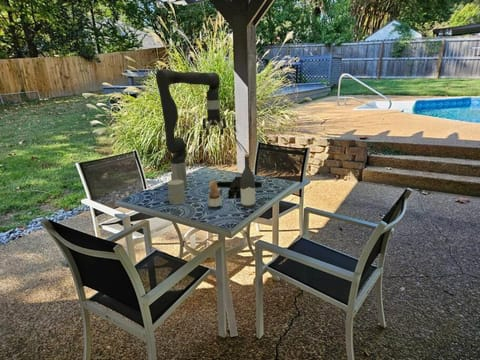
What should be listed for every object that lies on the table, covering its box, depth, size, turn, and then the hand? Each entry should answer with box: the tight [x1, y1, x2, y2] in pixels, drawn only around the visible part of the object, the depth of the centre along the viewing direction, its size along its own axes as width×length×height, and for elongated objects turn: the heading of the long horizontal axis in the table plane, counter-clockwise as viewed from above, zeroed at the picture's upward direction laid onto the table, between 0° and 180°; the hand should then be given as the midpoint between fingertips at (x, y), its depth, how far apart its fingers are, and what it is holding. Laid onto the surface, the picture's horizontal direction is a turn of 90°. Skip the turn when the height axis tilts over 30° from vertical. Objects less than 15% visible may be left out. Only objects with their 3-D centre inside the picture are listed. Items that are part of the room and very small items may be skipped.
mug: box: [206, 187, 223, 208], centre depth 180 cm, size 8×13×8 cm, turn 167°
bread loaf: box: [209, 180, 218, 199], centre depth 175 cm, size 4×4×12 cm
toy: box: [216, 176, 263, 199], centre depth 204 cm, size 30×5×30 cm
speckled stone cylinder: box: [166, 179, 187, 206], centre depth 187 cm, size 10×10×12 cm
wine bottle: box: [240, 153, 256, 209], centre depth 175 cm, size 8×8×30 cm
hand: (215, 135), depth 192 cm, fingers open, 8 cm apart
